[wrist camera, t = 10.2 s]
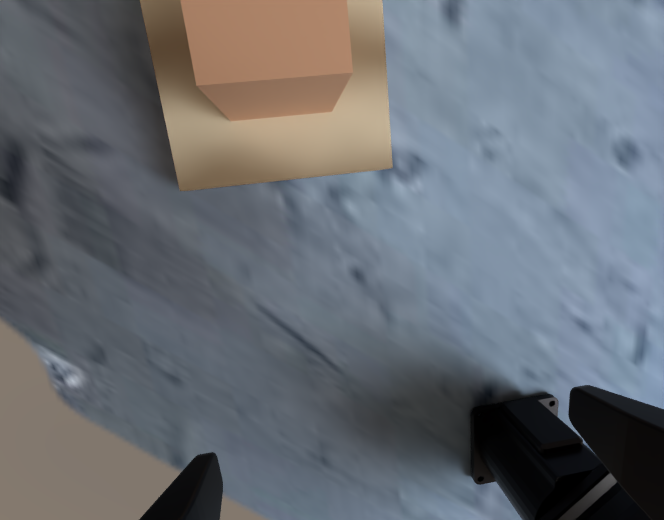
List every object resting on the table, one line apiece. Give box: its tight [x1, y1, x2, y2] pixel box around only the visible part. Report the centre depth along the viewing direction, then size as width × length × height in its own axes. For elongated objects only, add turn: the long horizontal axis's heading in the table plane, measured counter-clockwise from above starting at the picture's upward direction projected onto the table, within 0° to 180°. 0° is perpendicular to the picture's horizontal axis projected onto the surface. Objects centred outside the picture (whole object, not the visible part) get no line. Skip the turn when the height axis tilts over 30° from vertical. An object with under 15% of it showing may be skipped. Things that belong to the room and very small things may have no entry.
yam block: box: [180, 0, 353, 121], centre depth 13 cm, size 5×5×6 cm
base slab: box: [140, 0, 392, 191], centre depth 17 cm, size 11×11×2 cm
